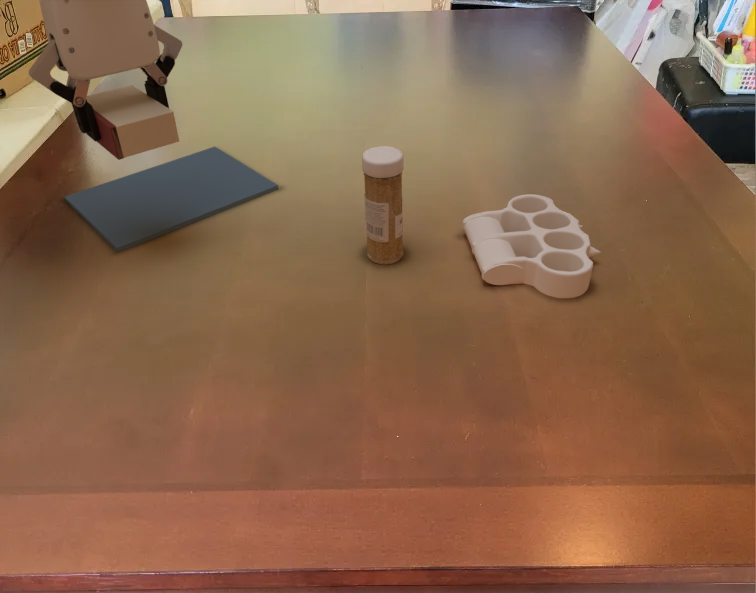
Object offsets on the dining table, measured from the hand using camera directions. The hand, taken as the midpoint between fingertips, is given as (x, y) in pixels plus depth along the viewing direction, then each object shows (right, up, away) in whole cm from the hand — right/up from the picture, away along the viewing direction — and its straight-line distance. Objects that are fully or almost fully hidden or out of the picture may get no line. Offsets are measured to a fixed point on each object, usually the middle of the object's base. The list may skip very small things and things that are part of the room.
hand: (127, 126), depth 74 cm
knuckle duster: (+47, -14, +5) cm, 49 cm away
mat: (-1, -5, +19) cm, 20 cm away
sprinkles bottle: (+29, -14, +6) cm, 33 cm away
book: (0, -1, +1) cm, 1 cm away
